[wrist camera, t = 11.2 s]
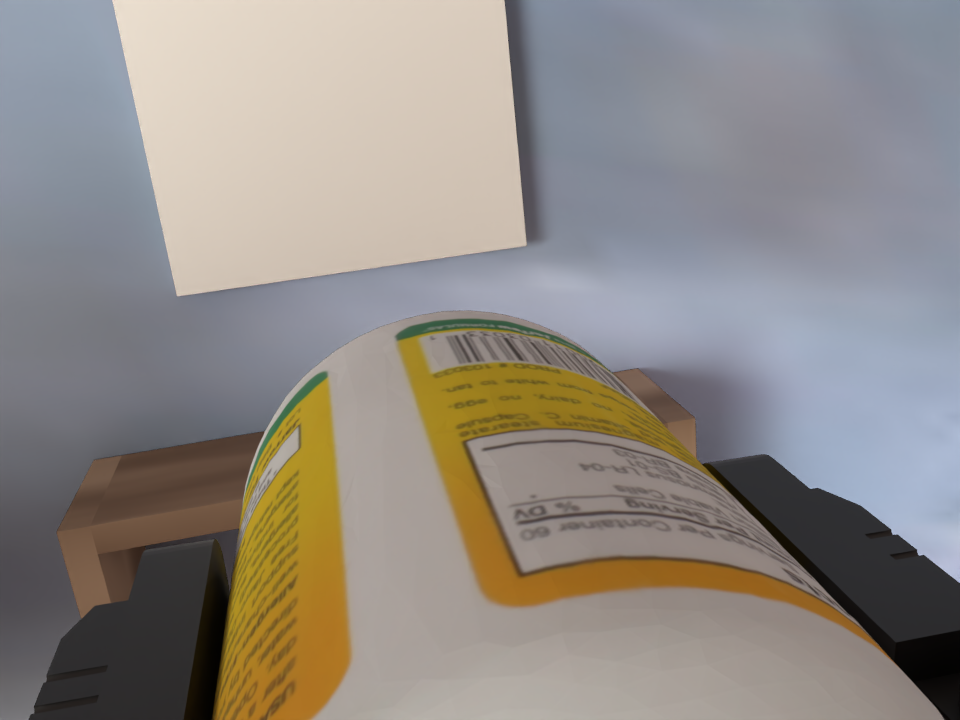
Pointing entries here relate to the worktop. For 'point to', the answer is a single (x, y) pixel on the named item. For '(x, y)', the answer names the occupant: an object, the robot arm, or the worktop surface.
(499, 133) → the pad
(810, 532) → the robot arm
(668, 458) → the supplement bottle
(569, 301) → the worktop surface
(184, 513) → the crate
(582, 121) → the worktop surface
